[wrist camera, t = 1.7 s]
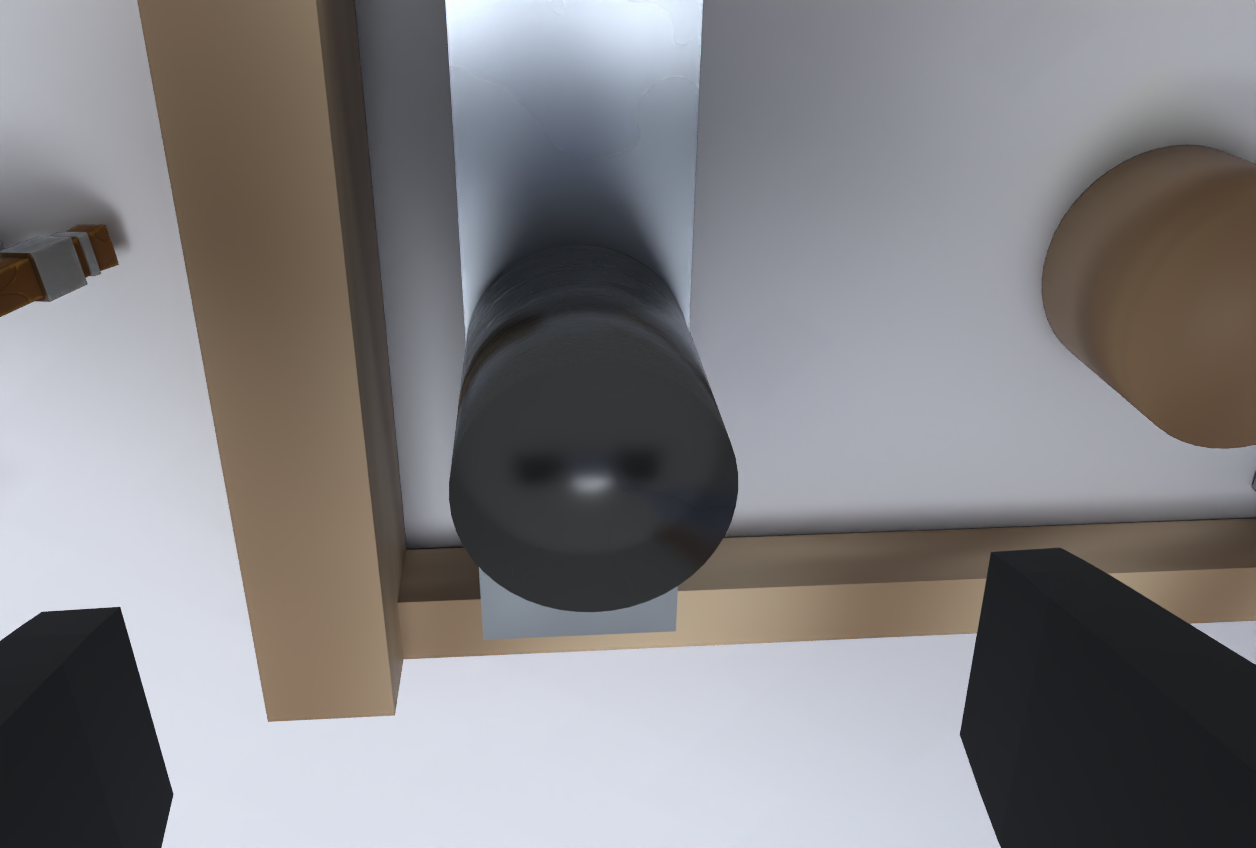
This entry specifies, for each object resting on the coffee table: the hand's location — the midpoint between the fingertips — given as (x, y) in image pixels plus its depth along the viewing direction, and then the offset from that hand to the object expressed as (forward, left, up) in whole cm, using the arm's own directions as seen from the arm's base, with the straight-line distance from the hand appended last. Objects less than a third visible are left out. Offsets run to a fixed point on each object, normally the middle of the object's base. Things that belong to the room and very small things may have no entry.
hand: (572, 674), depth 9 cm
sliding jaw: (0, 0, -9) cm, 9 cm away
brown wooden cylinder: (-10, 0, -10) cm, 14 cm away
